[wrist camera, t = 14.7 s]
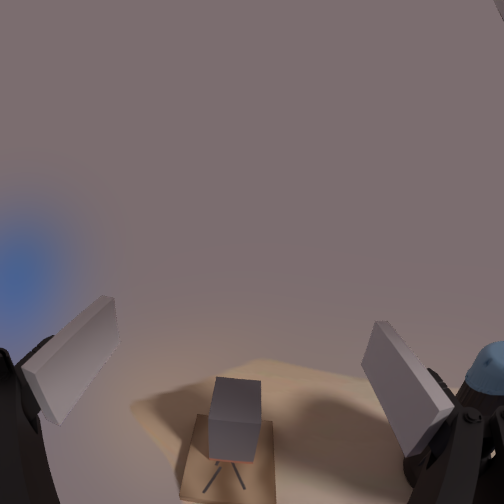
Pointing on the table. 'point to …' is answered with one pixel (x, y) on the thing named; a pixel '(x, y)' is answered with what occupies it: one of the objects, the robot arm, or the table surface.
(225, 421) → the block
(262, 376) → the table surface
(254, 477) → the oak board
